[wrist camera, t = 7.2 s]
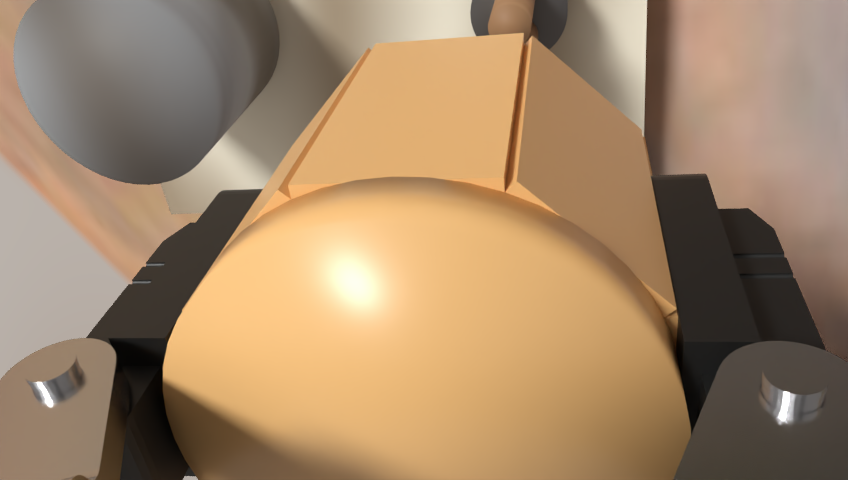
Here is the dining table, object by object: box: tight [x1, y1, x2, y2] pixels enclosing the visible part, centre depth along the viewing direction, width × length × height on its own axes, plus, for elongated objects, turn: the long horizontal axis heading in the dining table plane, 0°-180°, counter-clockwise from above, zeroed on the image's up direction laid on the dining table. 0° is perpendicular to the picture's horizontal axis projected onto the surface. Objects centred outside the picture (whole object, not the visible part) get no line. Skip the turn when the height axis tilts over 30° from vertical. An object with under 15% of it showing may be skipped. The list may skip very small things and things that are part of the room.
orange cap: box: [163, 33, 691, 480], centre depth 10 cm, size 6×6×5 cm
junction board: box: [14, 0, 647, 214], centre depth 22 cm, size 17×14×7 cm
